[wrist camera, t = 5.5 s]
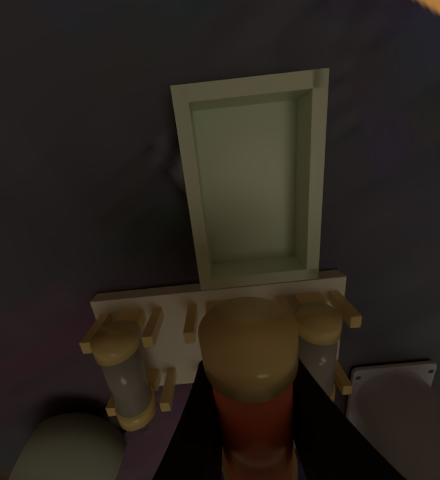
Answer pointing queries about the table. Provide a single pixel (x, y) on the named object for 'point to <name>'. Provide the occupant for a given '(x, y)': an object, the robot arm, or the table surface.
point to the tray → (254, 175)
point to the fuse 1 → (124, 373)
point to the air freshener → (71, 449)
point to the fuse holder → (190, 315)
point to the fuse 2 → (319, 341)
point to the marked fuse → (252, 385)
